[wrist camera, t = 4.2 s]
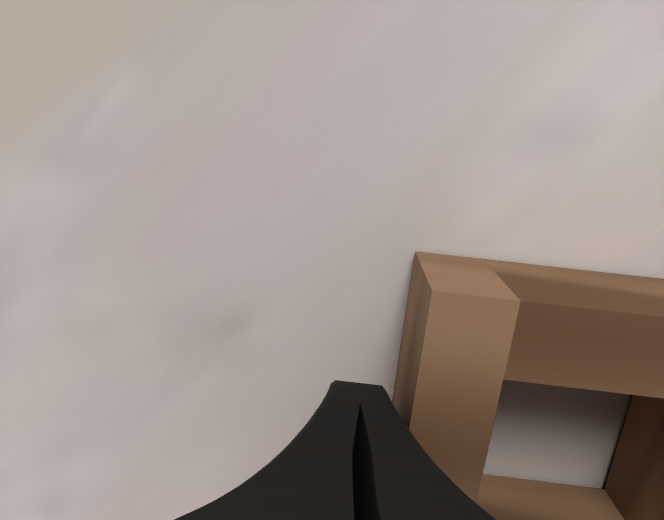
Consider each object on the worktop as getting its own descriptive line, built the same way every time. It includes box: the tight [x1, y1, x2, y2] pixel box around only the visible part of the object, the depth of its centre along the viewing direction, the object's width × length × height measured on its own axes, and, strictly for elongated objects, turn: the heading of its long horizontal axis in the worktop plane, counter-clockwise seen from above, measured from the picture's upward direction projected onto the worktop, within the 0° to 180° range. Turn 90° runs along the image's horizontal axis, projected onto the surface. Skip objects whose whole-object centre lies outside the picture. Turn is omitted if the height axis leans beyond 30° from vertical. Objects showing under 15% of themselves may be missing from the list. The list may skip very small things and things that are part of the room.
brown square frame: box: [392, 252, 664, 520], centre depth 12 cm, size 8×8×3 cm
